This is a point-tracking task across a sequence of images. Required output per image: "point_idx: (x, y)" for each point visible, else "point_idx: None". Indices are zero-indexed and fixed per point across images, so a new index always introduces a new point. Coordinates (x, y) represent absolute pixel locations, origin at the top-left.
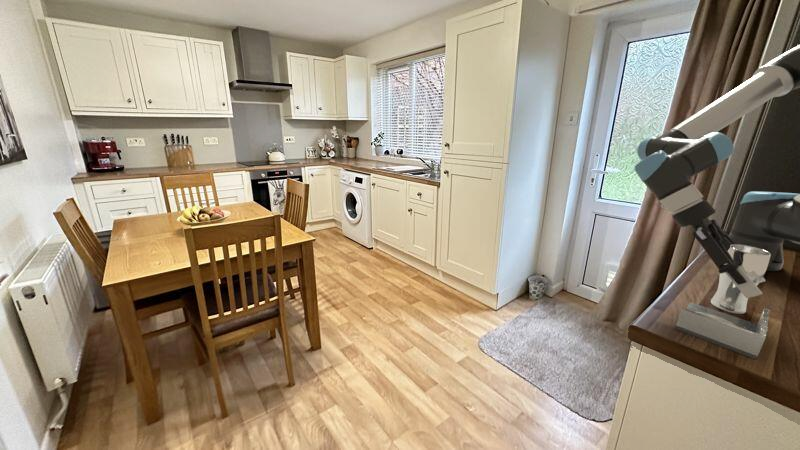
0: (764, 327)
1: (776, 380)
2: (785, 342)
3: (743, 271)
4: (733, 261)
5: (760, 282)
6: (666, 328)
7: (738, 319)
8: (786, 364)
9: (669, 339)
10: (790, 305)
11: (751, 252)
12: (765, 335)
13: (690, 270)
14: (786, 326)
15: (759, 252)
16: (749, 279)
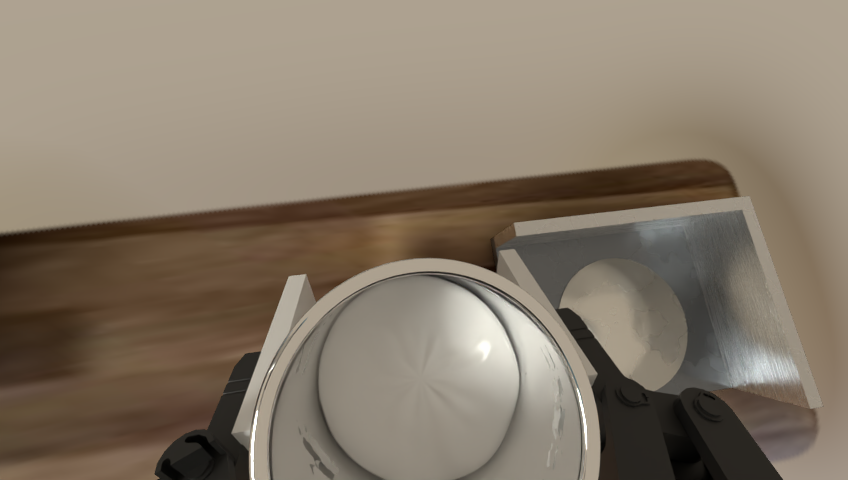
0: (682, 209)
1: (721, 178)
2: (515, 191)
3: (573, 345)
4: (639, 433)
5: (310, 288)
6: (751, 396)
7: None
8: (632, 175)
9: None
10: (197, 218)
11: (284, 411)
12: (731, 199)
13: None
14: (402, 203)
15: (294, 357)
16: (549, 304)
